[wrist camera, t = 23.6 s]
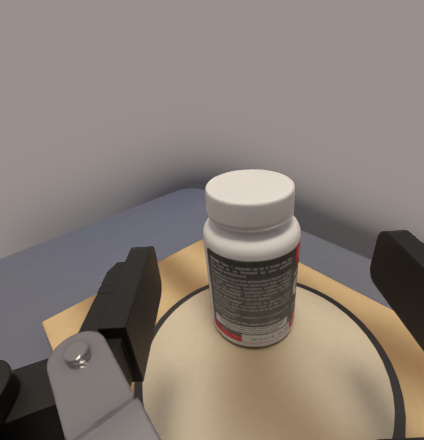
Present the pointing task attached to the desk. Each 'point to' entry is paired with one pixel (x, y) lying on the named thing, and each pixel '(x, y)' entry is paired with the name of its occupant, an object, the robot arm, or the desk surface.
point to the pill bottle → (252, 255)
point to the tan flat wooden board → (273, 365)
